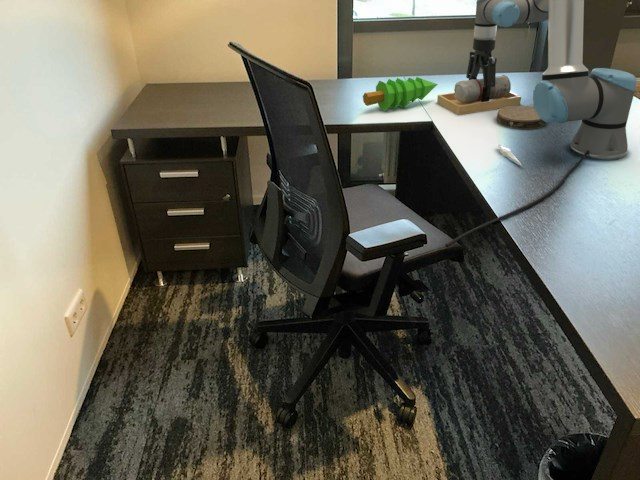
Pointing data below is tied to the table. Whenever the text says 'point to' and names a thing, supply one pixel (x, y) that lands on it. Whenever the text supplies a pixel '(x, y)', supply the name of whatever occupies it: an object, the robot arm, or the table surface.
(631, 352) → the table surface
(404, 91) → the decorative tree
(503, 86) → the spray can
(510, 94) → the tray
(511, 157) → the white toy shark
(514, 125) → the brown wooden disc
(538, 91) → the robot arm
